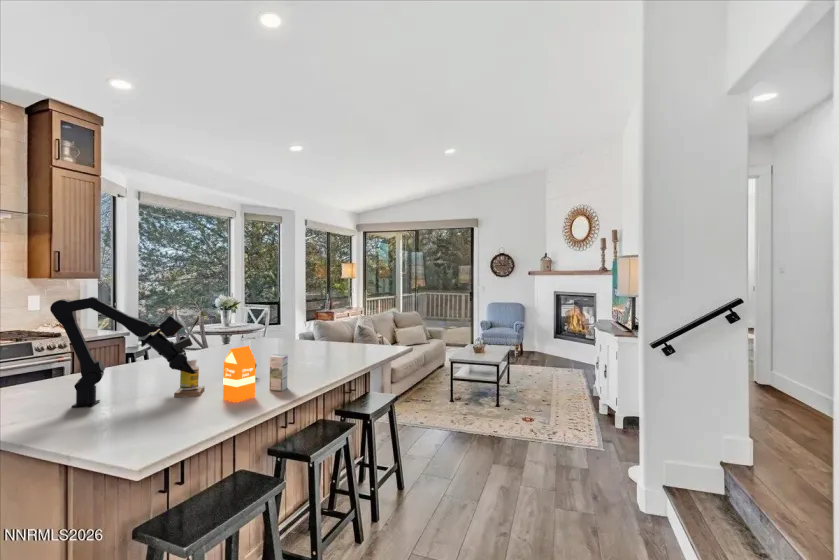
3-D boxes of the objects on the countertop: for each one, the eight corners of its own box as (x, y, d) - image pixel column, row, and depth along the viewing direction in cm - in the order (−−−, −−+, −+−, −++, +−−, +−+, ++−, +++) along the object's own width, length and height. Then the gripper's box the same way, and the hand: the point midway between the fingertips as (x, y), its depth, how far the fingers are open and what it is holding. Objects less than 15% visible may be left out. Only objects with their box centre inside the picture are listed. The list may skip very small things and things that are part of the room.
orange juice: (222, 399, 166) (223, 347, 166) (241, 394, 174) (242, 344, 173) (236, 402, 162) (237, 349, 162) (255, 397, 170) (256, 346, 170)
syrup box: (287, 387, 185) (288, 354, 185) (282, 391, 179) (282, 356, 179) (275, 387, 185) (275, 353, 185) (268, 390, 179) (269, 356, 179)
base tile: (199, 395, 170) (199, 392, 170) (174, 397, 168) (174, 393, 168) (204, 389, 179) (204, 386, 179) (180, 391, 176) (180, 387, 176)
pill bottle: (186, 391, 169) (187, 361, 169) (176, 388, 172) (177, 359, 172) (201, 387, 175) (202, 359, 174) (191, 385, 178) (192, 357, 177)
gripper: (180, 333, 163) (211, 360, 169) (178, 327, 179) (207, 352, 185) (155, 355, 159) (188, 382, 165) (156, 347, 175) (186, 372, 181)
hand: (193, 371), depth 174 cm, fingers closed on pill bottle, 6 cm apart
